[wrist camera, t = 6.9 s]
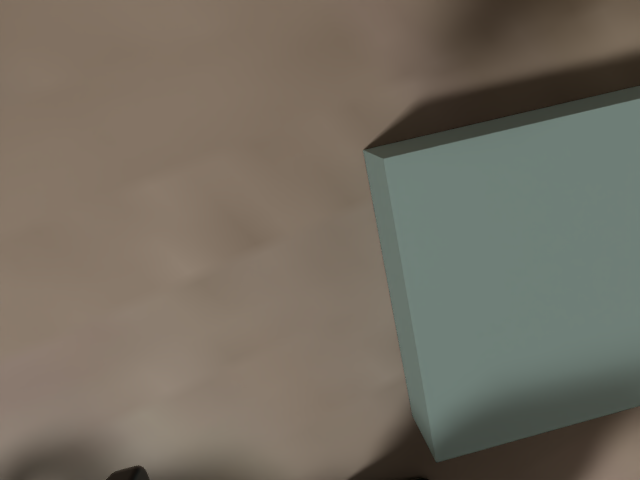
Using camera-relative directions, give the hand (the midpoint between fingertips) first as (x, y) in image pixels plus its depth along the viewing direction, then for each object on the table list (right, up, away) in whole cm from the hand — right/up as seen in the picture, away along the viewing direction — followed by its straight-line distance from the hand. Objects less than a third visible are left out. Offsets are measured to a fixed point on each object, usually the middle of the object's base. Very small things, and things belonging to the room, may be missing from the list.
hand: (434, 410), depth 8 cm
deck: (+12, +3, +13) cm, 18 cm away
